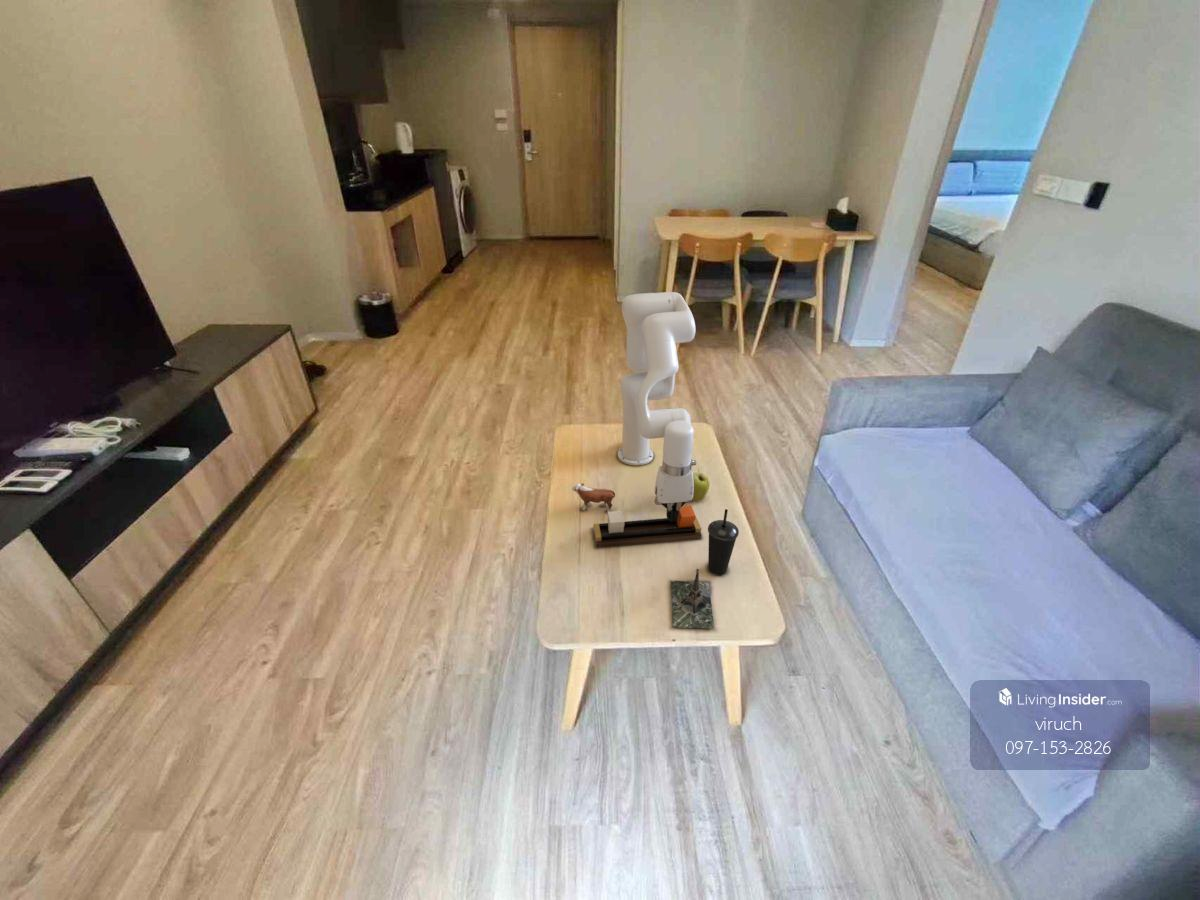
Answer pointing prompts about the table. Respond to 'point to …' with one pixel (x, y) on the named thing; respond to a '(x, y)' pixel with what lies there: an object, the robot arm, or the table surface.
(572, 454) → the table surface
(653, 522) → the rails
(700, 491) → the apple
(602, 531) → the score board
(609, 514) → the white boxy piece
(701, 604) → the eiffel tower figurine
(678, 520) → the orange rectangular block
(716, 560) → the drinking cup
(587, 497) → the bull figurine
